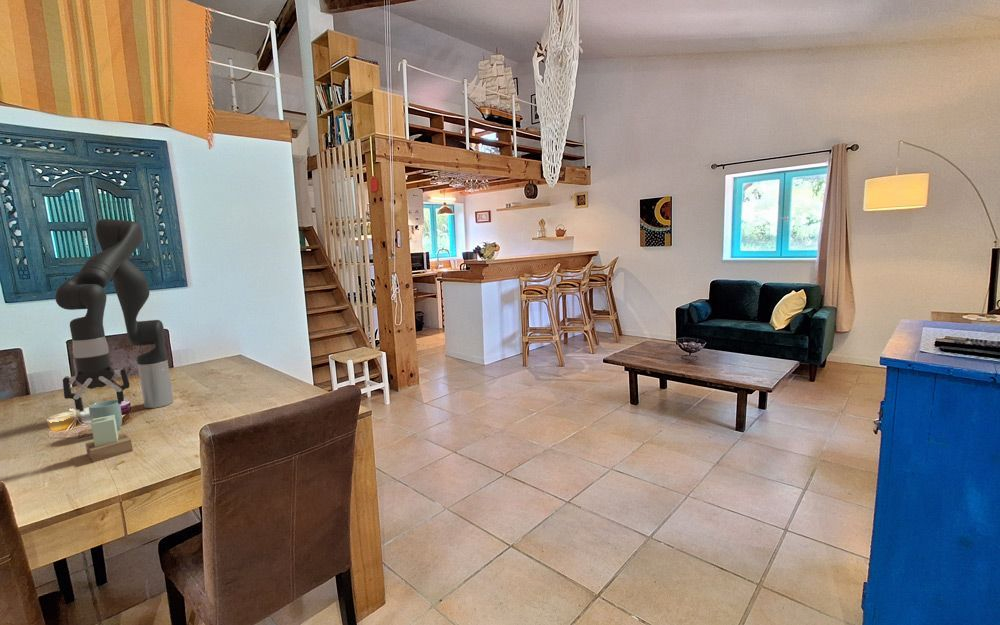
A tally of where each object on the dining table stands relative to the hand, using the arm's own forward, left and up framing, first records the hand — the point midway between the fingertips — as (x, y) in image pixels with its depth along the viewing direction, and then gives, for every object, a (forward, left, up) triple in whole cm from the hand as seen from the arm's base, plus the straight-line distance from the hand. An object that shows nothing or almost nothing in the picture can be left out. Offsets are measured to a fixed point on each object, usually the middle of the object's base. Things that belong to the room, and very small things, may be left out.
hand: (101, 406), depth 133 cm
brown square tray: (0, 0, -15) cm, 15 cm away
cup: (-21, -1, -15) cm, 25 cm away
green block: (0, 0, -11) cm, 11 cm away
